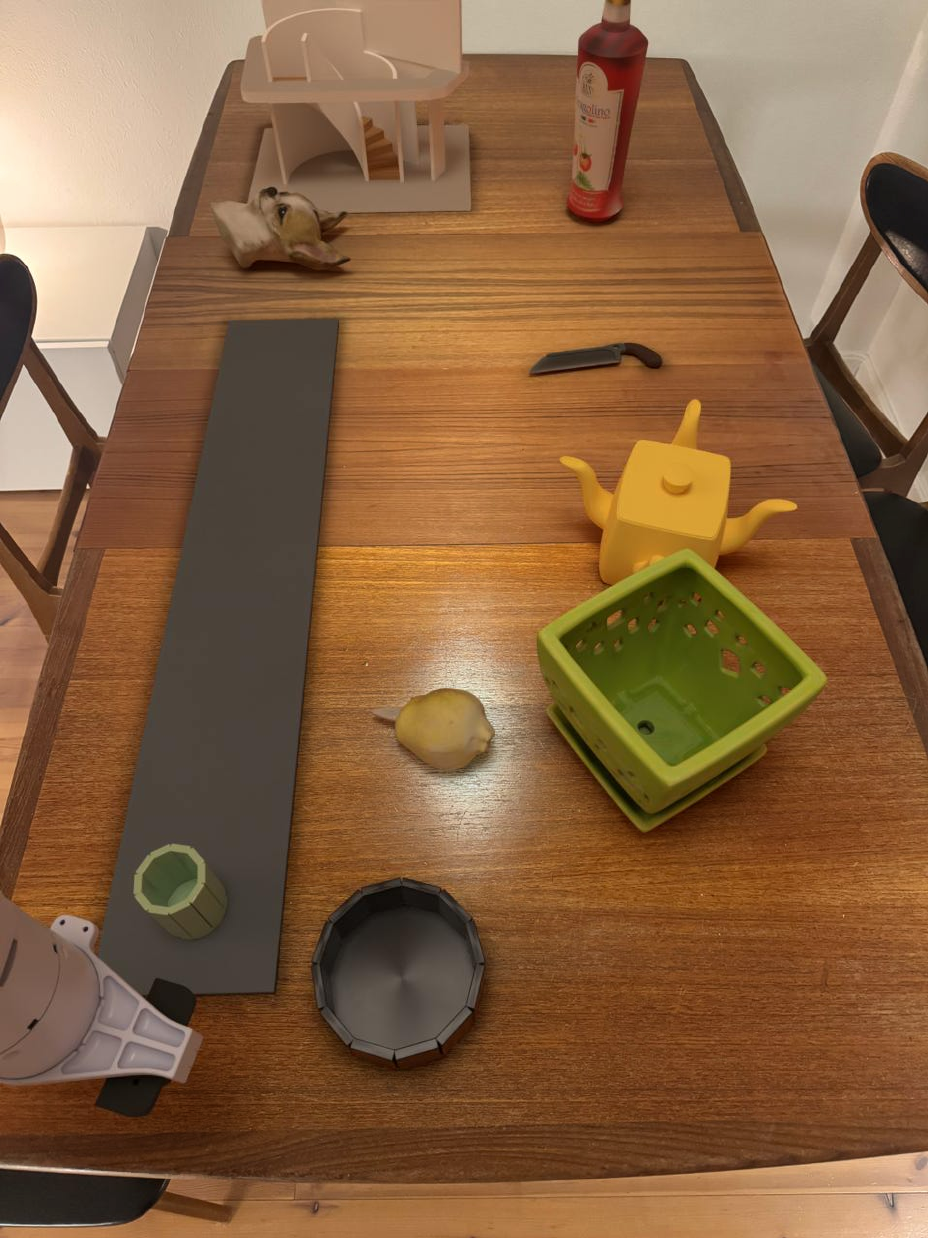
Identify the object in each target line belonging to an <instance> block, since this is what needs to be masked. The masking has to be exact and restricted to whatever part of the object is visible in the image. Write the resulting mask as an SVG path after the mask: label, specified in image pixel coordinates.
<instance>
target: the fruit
mask: <svg viewBox="0 0 928 1238" xmlns="http://www.w3.org/2000/svg"><path fill="white" fill-rule="evenodd" d="M372 715H373V716H375V717H378V718H380V719H383V720H388V721H391V722H395V723H394V736H395V739H396V740H397V741H398V742H399V743H400V744H401V745H402V746H404V747H405V748H407V749H408V750H410V751H411V753H413V754H414V755H415V756H417V757H418V758H419V760H421V761H423V762H424V763H425V764H427V765H428V766H430V767H433V768H436V769H440V770H444V771H445V770H447V771H450V770H451V771H452V770H459V769H462V768H464V767H465V766H467V765H468V764H469V763H471V761H472V760H473V759H474V758H475V757H476V756H478V755H480V754H482V753H485V752H486V751H488V749H489V748H490V746H491V742H492V740H493V738H495V736H496V730H495V728H494V726H493V725H492V723H491V721H489V719H488V717H487V715H486V710H485V706H484V704H483V702H482V701H481V700H480V698H478V696H476V695H475V694H473V693H472V692H470V691H468V690H463V689H459V688H453V687H441V688H436V689H433V690H431V691H429V692H428V693H425V694H418V695H415V696H411V697H410V699H409V700H408V701H407V702H406V703H405V705H404V706H403V707H402V708H399V707H395V706H394V707H393V706H386V707H381V708H374V709H373V710H372Z"/></svg>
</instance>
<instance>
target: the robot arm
mask: <svg viewBox="0 0 928 1238" xmlns="http://www.w3.org/2000/svg"><path fill="white" fill-rule="evenodd" d="M99 934H100V929H99V927H98V926H97V925H96V924H94V923H93V922H92V921H90V920H88V919H85V918H82V917H78V916H74V915H71V914H61V915H59V916H57V917H56V918H55V919H54V920H53V922H52V924H51V925H50V927H49V926H47V925H45V924H43V923H42V922H41V921H39V920H37V919H36V918H35V917H33V916H32V915H30V914H29V913H27V912H26V911H24V910H23V909H21V907H18V906H17V904H16V903H14V902H13V901H12V900H10V899H9V898H7V897H6V896H5V895H4V894H3V892H2V890H1V889H0V1084H2V1085H7V1086H14V1087H24V1086H25V1087H27V1086H36V1085H48V1084H57V1083H67V1082H77V1081H89V1080H97V1079H105V1081H104V1083H103V1085H102V1087H101V1089H100V1091H99V1093H98V1095H97V1099H96V1100H95V1103H94V1107H96V1108H100V1109H103V1110H106V1111H109V1112H112V1113H115V1114H117V1115H121V1116H124V1117H127V1118H134V1119H135V1118H142V1117H143V1118H144V1117H147V1116H148V1115H150V1114H151V1112H152V1111H153V1109H154V1108H155V1106H156V1104H157V1101H158V1099H159V1097H160V1094H161V1092H162V1090H163V1087H165V1086H167V1085H169V1084H171V1083H172V1081H174V1082H177V1083H179V1084H186V1083H187V1079H188V1077H189V1074H190V1072H191V1070H192V1067H193V1065H194V1063H195V1061H196V1058H197V1055H198V1053H199V1049H200V1047H201V1045H202V1042H203V1039H204V1035H202V1034H200V1033H199V1032H197V1031H196V1030H194V1029H193V1028H191V1027H189V1024H190V1021H191V1019H192V1017H193V1015H194V1012H195V1009H196V1005H197V997H196V996H197V995H194V994H193V993H192V991H191V990H189V989H188V988H187V987H185V986H183V985H180V984H177V983H173V982H170V981H167V980H163V979H160V978H156V979H155V980H154V982H153V985H152V987H151V989H150V991H149V994H148V996H147V997H146V998H145V997H143V996H141V995H140V994H139V993H138V992H137V991H136V990H135V989H134V988H132V987H131V986H130V985H129V984H128V983H127V982H126V981H125V980H123V979H122V978H121V977H120V976H119V975H118V974H117V973H115V972H114V971H113V970H112V969H111V968H110V967H109V966H108V965H106V964H105V963H104V962H103V961H102V960H101V959H100V958H99V957H97V953H95V948H94V947H95V944H96V942H97V940H98V939H99Z"/></svg>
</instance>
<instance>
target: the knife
mask: <svg viewBox="0 0 928 1238" xmlns="http://www.w3.org/2000/svg"><path fill="white" fill-rule="evenodd" d="M623 353H624V354H630V355H635V356H636V357H637V358H639V359H640V360H641V361H642V362H643V363H645V364H646V365H647V366H649V367H653V368H658V367H659V366H661V365H662V364H663V358H662V356H661V355H660V354H659V353H657V352H656V351H654V350H653V349H651V348H649V347H647V346H645V345H643V344H640V343H636V342H621V343H620V342H617V343H616V342H615V343H611V344H606V345H603V346H602V345H601V346H595V347H588V348H581V349H580V348H579V349H572V350H562V351H556V352H555V351H554V352H549V353H547V354H546V355H545V356H543V357H541V358H540V359H538V361H537V362H536V363H535V364H534V365H532V366H531V368H530V369H529V371H528V374H529V375H530V374H537V373H546V372H552V371H561V370H568V369H577V368H585V367H592V366H599V365H609V364H615V363H616V364H617V363H620V362H621V361H622V354H623Z"/></svg>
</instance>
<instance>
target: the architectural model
mask: <svg viewBox="0 0 928 1238" xmlns="http://www.w3.org/2000/svg"><path fill="white" fill-rule="evenodd" d="M260 2H261V8H262V12H263V18H264V23H265V31H264V32H263V34H262V35H256V36H253V37H250V39H249V40H248V43H247V47H246V52H245V58H244V64H243V69H242V74H241V80H240V85H239V90H240V94H241V99H242V100H243V102H246V103H249V104H268V108H269V114H270V118H271V119H270V120H271V125H272V127H264V128H263V129H264V130H263V134H262V138H261V143H260V147H259V151H258V155H257V159H256V164H255V168H254V171H253V177H252V181H251V185H250V190H249V194H248V198H247V203H246V204H250V203H251V202H252V201H253V199H254V196H255V195H256V193H258V192H260V191H261V190H262V189H265V188H269V187H275V188H276V189H277V191H278V193H279V192H286V191H287V192H289V193H299V194H301V195H303V196H305V197H306V198H307V199H309V200H310V201H311V202H312V203H313V204H314V205H315V207H316V208H318V209H319V210H324V211H327V212H329V213H337V212H342V211H345V212H347V214H359V213H366V214H367V213H410V212H411V213H413V212H414V213H415V212H416V213H417V212H419V213H420V212H423V213H424V212H466V211H467V212H469V211H470V212H471V211H472V195H471V194H472V193H471V191H472V189H471V157H470V153H471V152H470V125H469V124H445V110H444V107H445V106H444V98H446V97H448V96H449V95H451V94H452V93H453V92H454V91H455V90H456V89H457V88H458V87H459V86H460V85H461V84H463V83H464V81H466V79H468V78H469V77H470V62H469V61H468V60H466V59H464V58H463V17H462V16H463V15H462V13H463V12H462V8H463V7H462V5H463V4H462V2H463V1H462V0H260ZM417 101H427V109H428V124H422V125H420V124H418V120H417V118H418V117H417V104H416V103H417Z"/></svg>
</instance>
